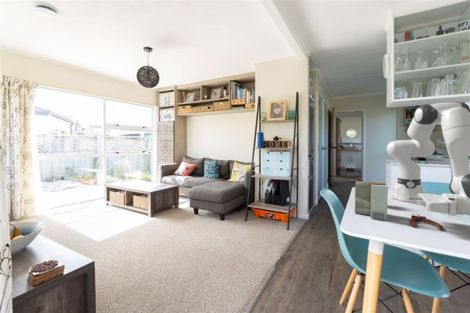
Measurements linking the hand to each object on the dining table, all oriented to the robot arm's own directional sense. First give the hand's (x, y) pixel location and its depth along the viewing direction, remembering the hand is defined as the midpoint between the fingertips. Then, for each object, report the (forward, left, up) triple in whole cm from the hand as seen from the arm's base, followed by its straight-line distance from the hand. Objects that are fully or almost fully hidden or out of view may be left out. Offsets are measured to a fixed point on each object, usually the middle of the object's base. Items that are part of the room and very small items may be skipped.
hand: (409, 200), depth 106 cm
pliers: (-2, +6, -12) cm, 14 cm away
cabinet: (-6, -16, -11) cm, 20 cm away
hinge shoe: (0, -13, -11) cm, 17 cm away
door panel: (0, -12, -11) cm, 17 cm away
